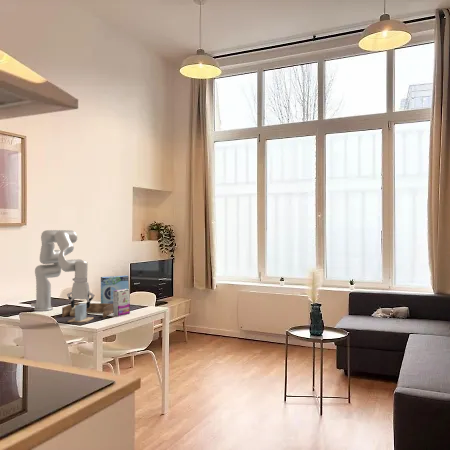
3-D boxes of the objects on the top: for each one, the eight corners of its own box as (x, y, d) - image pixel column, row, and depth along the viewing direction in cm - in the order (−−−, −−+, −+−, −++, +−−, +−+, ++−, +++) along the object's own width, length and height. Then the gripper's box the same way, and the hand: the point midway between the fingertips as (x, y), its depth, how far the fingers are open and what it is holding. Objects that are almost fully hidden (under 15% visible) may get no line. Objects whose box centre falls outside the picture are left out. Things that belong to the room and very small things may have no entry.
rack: (62, 316, 300) (62, 307, 300) (73, 311, 318) (73, 303, 318) (104, 317, 298) (104, 308, 298) (113, 312, 316) (113, 303, 316)
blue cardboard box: (126, 306, 341) (126, 275, 341) (128, 307, 336) (129, 275, 336) (100, 308, 330) (100, 276, 330) (102, 309, 326) (102, 277, 326)
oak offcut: (70, 316, 304) (70, 312, 304) (75, 314, 313) (75, 309, 313) (80, 316, 303) (80, 312, 304) (85, 314, 312) (85, 309, 312)
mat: (67, 322, 284) (67, 321, 284) (75, 317, 297) (75, 317, 297) (86, 322, 283) (86, 321, 283) (93, 318, 296) (93, 317, 296)
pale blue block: (74, 320, 285) (75, 306, 285) (81, 317, 295) (81, 303, 295) (80, 320, 285) (80, 306, 285) (86, 317, 295) (86, 303, 295)
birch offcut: (71, 312, 304) (71, 307, 304) (73, 309, 311) (73, 305, 311) (81, 311, 305) (81, 307, 305) (82, 309, 312) (82, 305, 312)
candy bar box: (124, 312, 314) (124, 288, 315) (130, 313, 312) (130, 289, 312) (112, 315, 305) (112, 290, 305) (118, 316, 302) (118, 291, 302)
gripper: (65, 280, 287) (64, 308, 287) (92, 281, 286) (91, 309, 286) (69, 279, 294) (69, 306, 294) (96, 280, 293) (96, 307, 293)
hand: (80, 307), depth 290 cm, fingers open, 9 cm apart
